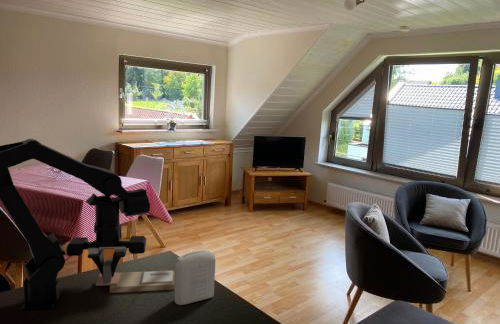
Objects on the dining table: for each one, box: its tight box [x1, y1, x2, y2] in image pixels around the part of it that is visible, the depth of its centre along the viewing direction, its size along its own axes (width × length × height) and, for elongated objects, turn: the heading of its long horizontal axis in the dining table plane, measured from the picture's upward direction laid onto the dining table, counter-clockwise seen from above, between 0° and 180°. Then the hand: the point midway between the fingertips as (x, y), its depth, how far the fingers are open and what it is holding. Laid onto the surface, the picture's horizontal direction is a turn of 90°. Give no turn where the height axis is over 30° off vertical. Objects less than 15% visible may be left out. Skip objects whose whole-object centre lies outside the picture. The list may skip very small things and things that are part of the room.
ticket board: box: [109, 269, 175, 294], centre depth 101 cm, size 16×8×2 cm, turn 101°
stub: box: [95, 257, 121, 287], centre depth 99 cm, size 5×6×5 cm
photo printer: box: [174, 250, 216, 306], centre depth 94 cm, size 10×4×12 cm, turn 123°
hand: (108, 276), depth 99 cm, fingers closed on stub, 2 cm apart
